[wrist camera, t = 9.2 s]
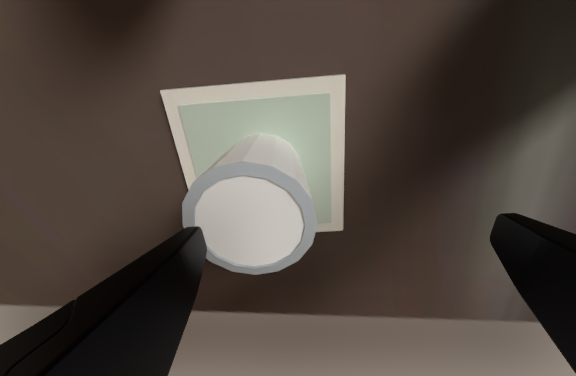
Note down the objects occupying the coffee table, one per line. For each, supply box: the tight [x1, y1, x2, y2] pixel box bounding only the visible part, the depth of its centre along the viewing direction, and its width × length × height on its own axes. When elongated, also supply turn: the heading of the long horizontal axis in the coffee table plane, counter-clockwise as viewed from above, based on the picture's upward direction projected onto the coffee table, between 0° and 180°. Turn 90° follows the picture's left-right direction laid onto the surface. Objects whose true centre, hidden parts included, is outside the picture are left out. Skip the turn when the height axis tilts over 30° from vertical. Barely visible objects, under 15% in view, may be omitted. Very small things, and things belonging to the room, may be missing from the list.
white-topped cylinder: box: [182, 133, 318, 275], centre depth 16 cm, size 7×7×7 cm
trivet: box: [160, 74, 346, 232], centre depth 20 cm, size 12×12×1 cm
